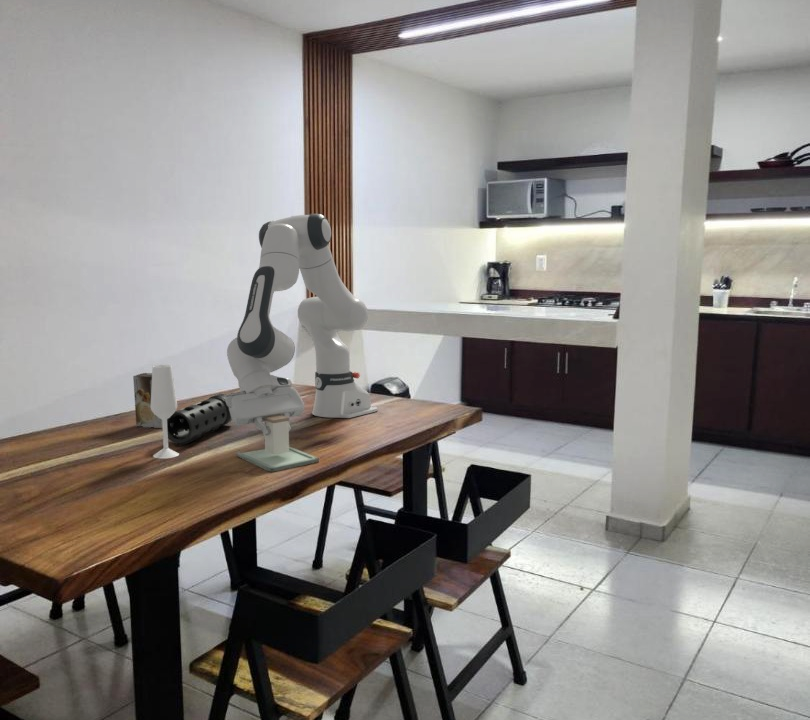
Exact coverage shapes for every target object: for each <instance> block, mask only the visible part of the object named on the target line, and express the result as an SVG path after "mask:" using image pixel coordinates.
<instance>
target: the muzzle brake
mask: <svg viewBox="0 0 810 720" xmlns="http://www.w3.org/2000/svg"><path fill="white" fill-rule="evenodd" d="M227 395H228V394H225V393H219V394H215V395H212V396H210V397H209V398H208V399H204V400H203V401H199V402H197V403H194V404H191V405H189V406H186V407H183V408H180V409H178V410H176V411H175V412H174V414H173V415H172V416H171V417H170V418H168V419H167V432H168V441H170V442H172V443H175V444H176V446H177V447H182V446H185V445H187V444H188V443H192V442H193V441H195V440H198V439H199V438H200V437H203V436H204V434H206V433H209V432H211V431H214V432H216V431H218V430H220V427H223V426H225V425H228V424H229V423H232V422H233V421H232V418H231V415H230V411H229V407H228V406H227V404H226V402H225V397H226V396H227ZM228 397H229V396H228ZM170 424H171V425H170ZM217 429H218V430H217ZM215 430H216V431H215Z"/></svg>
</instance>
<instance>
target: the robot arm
mask: <svg viewBox="0 0 810 720" xmlns="http://www.w3.org/2000/svg"><path fill="white" fill-rule="evenodd" d="M258 240H259V241H258V242H259V245H260V248H261V251H260V257H259V258H260V260H259V266H258V268H257V270H256V271H254V275H253V277H252V281H251V284H250V287H249V288H250V289H249V294H248V299H247V303H246V309H245V313H244V317H243V319H242V322H241V324H240V327H239V328H238V331H237V335H236V337H235V338H233V339H232V340H231V341H230V342H229V344H228V346H227V349H226V357H227V360H228V364H229V366H230V368H231V372H232V373H233V376H234V377H235V379H236V380H237V381H238V388H239V389H240V391H237V392H230V393H227V394H226V395H227V396H226V397H225V402H226V404H227V406H228V407H229V411H230V415H231V418H232V421H231V422H232V423H233V424H234V425H235V426H237V427H238V426H245V425H250V424H251V425H252V424H254V426H255V427H256V428H257V429H259V430H260V432H261V433H262V434H263V436H265V435H270V433H271V430H270V427H269V426H265V420H264V417H267V416H274V415H283V416H286V417H289V422H290V420H291V418H293V417H300V416H301V415H302V414H303V412H304V409H305V403H304V401H303V399H302V397H301V395H300V393H299V392H298V390H297V389H296V388H295V387H293V386H292V385H293V381H292V380H291V379H290V378H287V377H280V376H277V375H272V374H271V373H273V372H275V371H277V370H280V369H281V368H283V367H285V366H286V365H288V364H289V363H290V362H291V361H292V359H293V358H294V356H295V352H296V347H295V346H296V345H295V343H294V340H293V339H292V338H291V337H289V336H288V335H287V334H286V333H284V332H283V331H282V330H279V329H277V328H276V327H275V326H274V325H273V324H272V322H271V319H270V314H271V313H270V312H271V308H272V301H273V296H274V293H275V292H283V291H286V290H288V289H291V288H292V287H293V286H295V284H296V283H297V281H298V279H299V275H300V274H301V277H302V279H303V283H304V286H305V287H306V289H307V291H309V292H310V293H312V294H313V295H314V296H312V297H308V298H304V299H302V301H300V304H299V305H298V309H297V317H298V320H299V322H300V324H301V325H302V326H303V327H304V328H305V329H306V330H307V332H308V333H309V334H310V337H311V340H312V342H313V345H314V350H315V362H316V363H315V366H316V370H315V372H314V373H315V374H314V384H315V385H314V386H315V398H314V403H313V407H312V408H313V409H312V412H311V414H312V415H314V416H315V417H322V418H332V419H333V418H341V419H351V418H354V417H359V416H362V415H366V414H371V413H374V412H378V410H379V409H378V407H377V406H375V405H373V404H372V402H371V401H372V400H371V396H370V394H369V392H368V391H367V390H366V389H365V388H364V387H362V386H360V385H359V384H358V383H357V382H355V379H360V377H361V374H360V372H356V371H354V372H353V371H351V368H350V363H351V361H350V360H351V359H350V349H349V347H348V345H347V344H346V343H344V342H343V340H342V339H340V337H339V336H340V335H338V332H354V331H359V330H361V329H363V328H364V327H365V326H366V324H367V322H368V317H369V312H368V308H367V305H366V304H365V303H364V302H363V301H362V300H360V299H358V298H357V297H356V296H355V295H354V294H353V293H352V292H351V291H350V290H349V289H348V288H347V286H346V285H345V284H344V282H343V280H342V279H341V277H340V274H339V273H338V270H337V269H338V268H337V267H336V264H335V261H334V258H333V257H334V256H333V254H332V251H331V249H330V246H329V244H330V243H331V241H332V228H331V224H330V221H329V219H328V218H327V217H325V215H323V214H321V213H309V214H299V215H291V216H288V217H285V218H280V219H276V220H270V221H267V222H265V223H263V224H262V226H261V227H260V229H259V231H258ZM228 396H229V397H228ZM263 422H264V423H263ZM291 429H292V427H291V425H290V423H289V432H290V431H291Z"/></svg>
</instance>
